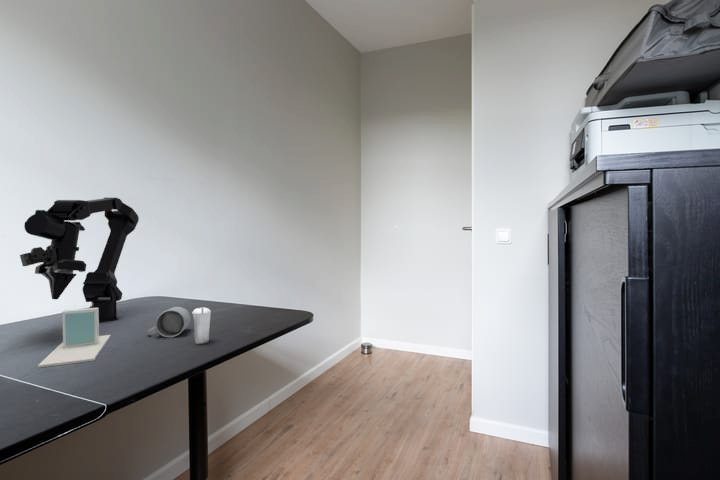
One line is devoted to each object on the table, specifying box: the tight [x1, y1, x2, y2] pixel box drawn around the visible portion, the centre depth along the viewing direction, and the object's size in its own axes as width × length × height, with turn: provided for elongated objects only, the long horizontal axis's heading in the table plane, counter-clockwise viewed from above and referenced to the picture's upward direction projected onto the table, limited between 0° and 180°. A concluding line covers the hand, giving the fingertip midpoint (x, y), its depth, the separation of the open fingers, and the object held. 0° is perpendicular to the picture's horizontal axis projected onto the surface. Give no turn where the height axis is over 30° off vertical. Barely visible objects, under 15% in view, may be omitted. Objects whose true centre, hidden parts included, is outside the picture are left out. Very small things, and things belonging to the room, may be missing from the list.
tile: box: [61, 307, 100, 348], centre depth 92 cm, size 2×7×9 cm, turn 116°
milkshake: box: [191, 306, 212, 345], centre depth 96 cm, size 4×5×10 cm
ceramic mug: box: [146, 306, 191, 338], centre depth 104 cm, size 11×8×8 cm
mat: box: [37, 334, 112, 369], centre depth 90 cm, size 20×10×1 cm, turn 26°
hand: (54, 299), depth 99 cm, fingers closed
